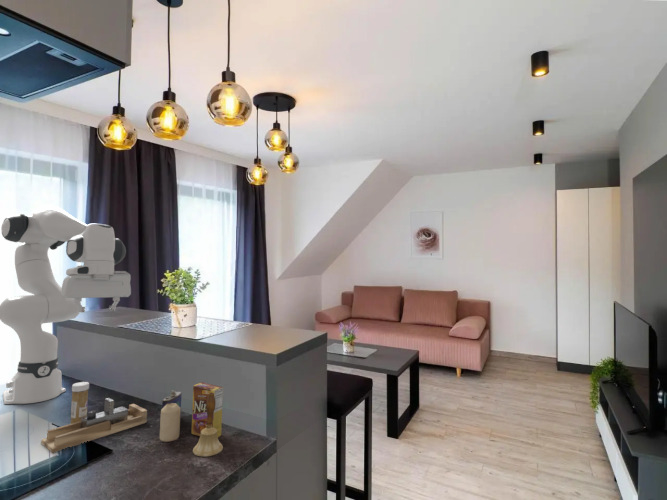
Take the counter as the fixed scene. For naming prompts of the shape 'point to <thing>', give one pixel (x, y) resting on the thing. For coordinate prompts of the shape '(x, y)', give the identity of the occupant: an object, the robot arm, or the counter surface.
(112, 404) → the sliding block with knob
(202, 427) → the candy box
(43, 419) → the counter surface
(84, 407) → the sprinkles bottle
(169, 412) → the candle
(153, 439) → the counter surface
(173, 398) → the flask
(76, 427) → the guide rail
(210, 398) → the hand bell
